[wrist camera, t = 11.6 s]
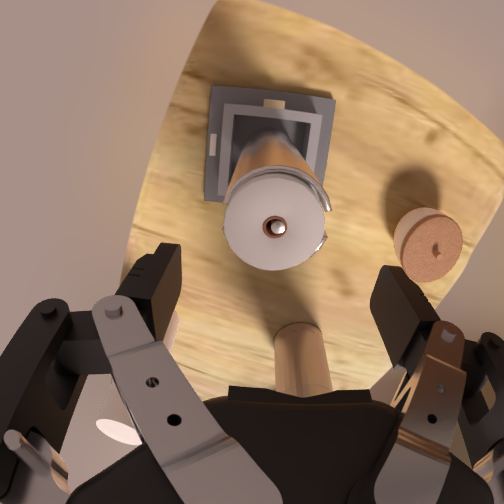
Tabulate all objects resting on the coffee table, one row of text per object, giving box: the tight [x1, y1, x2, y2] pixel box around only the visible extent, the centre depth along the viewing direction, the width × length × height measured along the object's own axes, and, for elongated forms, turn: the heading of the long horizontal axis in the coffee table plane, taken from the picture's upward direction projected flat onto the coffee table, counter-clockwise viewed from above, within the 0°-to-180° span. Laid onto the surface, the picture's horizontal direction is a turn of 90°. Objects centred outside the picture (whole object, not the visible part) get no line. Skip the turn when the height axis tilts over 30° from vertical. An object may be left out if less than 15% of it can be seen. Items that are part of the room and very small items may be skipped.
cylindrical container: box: [96, 311, 180, 445], centre depth 44 cm, size 7×7×25 cm
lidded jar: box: [394, 207, 463, 282], centre depth 41 cm, size 11×11×9 cm
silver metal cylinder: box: [222, 127, 332, 271], centre depth 28 cm, size 6×6×25 cm
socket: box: [204, 86, 336, 202], centre depth 37 cm, size 16×16×6 cm
